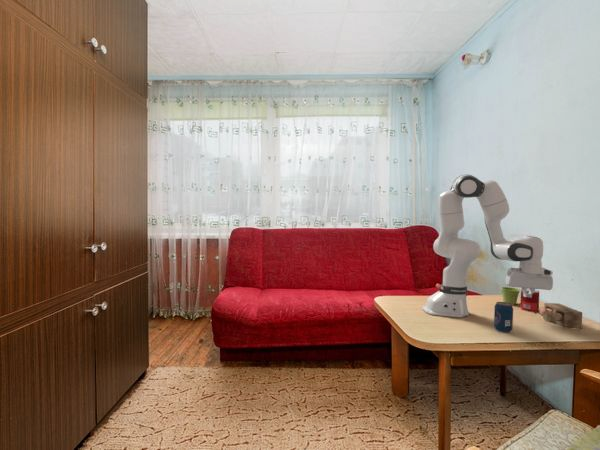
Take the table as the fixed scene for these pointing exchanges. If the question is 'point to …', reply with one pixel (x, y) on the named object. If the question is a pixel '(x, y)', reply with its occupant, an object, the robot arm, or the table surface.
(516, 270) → the robot arm
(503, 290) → the plant pot
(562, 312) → the socket block
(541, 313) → the terracotta plug
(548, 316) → the oak plug
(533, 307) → the canned food
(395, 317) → the table surface
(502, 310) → the soda can
